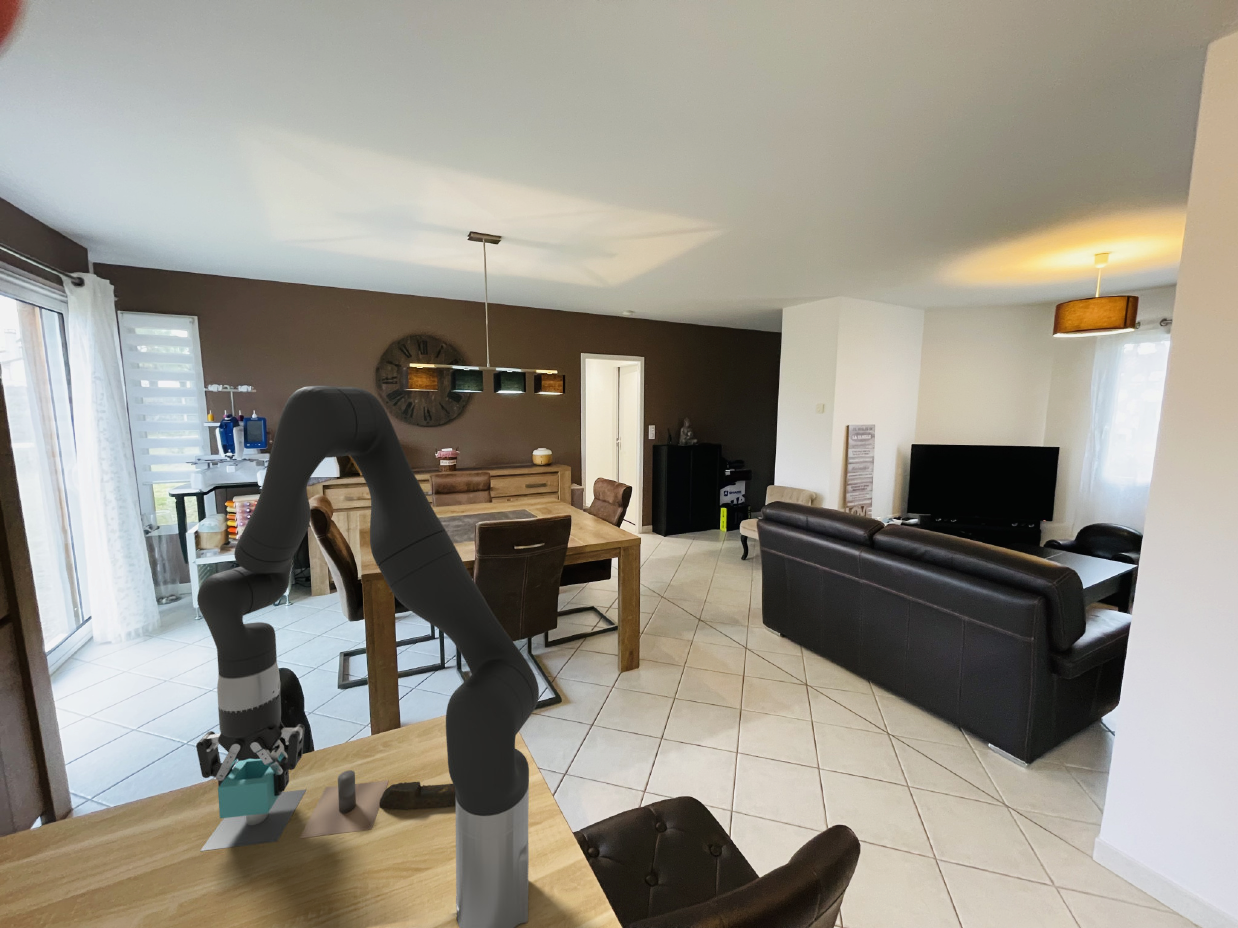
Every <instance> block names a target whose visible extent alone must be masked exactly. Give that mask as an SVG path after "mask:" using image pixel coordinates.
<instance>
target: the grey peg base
mask: <svg viewBox="0 0 1238 928" xmlns="http://www.w3.org/2000/svg"><path fill="white" fill-rule="evenodd" d="M306 791H307V789H297V790H289V791H282V793H281V795H280V796H278V798H277V800H276V801H275V803H274V804H273V806H272V808H271V809H270V811H269V812H268V813H265V814H256V815H247V816H238V817H229V818H222V820H221V822H220V823H219V824H218V826H217V827H216V828H215V830H214V831H213V832H212V834H211V835H210V836H209V838H208V839H207V841H206V842H205V843H204V845H203V846H202V848H201V849H200V850H199V851H200V852H204V851H206V852H207V851H212V850H220V849H229V848H237V847H244V846H252V845H259V844H265V843H266V844H268V843H275V842H276V843H277V842H278V840H279V839H280V837H281V835H282V834H283V832H284V830H285V828H286V826H287V825H288V823H289V821H290V820H291V818H292V816H293V814H294V813H295V811H296V809H297V807H298V805H299V804H300V801H302V798H303V796H305V793H306Z"/></svg>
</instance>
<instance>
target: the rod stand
mask: <svg viewBox="0 0 1238 928" xmlns="http://www.w3.org/2000/svg"><path fill="white" fill-rule="evenodd" d="M388 785H389V779H387V780H381V781H380V780H378V781H371V782H361V783H356V772H355V771H354V770H346V771H345V770H344V771H343V772H341V773H340V774H339V775H338V776H337V785H334V786H326V787H325V788H324V790H323V792H322V794H321V796H320V798H319V800H318V802H317V804H316V806H315V807H314V810H313V811H312V813H311V815H310V817H309V819H308V821H307V823H306V825H305V827H304V828H303V831H302V833H301V835H300V836H299V839H306V838H307V839H308V838H315V837H323V836H330V835H338V834H346V833H347V834H348V833H352V832H360V831H361V832H363V831H369V830H372V829H373V826H374V823H375V821H376V817H377V815H378V812H379V809H380V805H379V803H380V799H381V797H382V795H383V793H384V791H385V790H386V789H387V788H388Z"/></svg>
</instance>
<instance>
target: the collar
mask: <svg viewBox="0 0 1238 928" xmlns="http://www.w3.org/2000/svg"><path fill="white" fill-rule="evenodd" d="M285 753H286V754H287V755H288V752H285ZM274 774H275V773H274V772H273V770H272V769H271V768H270V766H269V765H267V766H266V765H265V764H264V763H263V761H262V760H261V759H247V760H243V761H237V762H236V764H235V765H234V767H233V768H232V771H231V772H230V773H229V774H228V776H227V777H226V778H225V779H224V781H223V782H222V783H221V784H220V786H218V787H217V794H218V795H217V796H218V810H219V811H218V813H219V819H224V818H229V817H238V816H247V815H256V814H265V813H268V812H269V811H270V809H271V808H272V806H273V804H274V803H275V801H276V800H277V798H278V796H275V795H274Z"/></svg>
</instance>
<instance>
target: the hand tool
mask: <svg viewBox="0 0 1238 928" xmlns="http://www.w3.org/2000/svg"><path fill="white" fill-rule="evenodd" d="M379 805H380V807H379V809H380V808H381V809H385V810H390V811H391V810H403V811H409V810H410V811H411V810H413V811H414V810H425V809H426V810H427V809H444V808H456V791H455V787H454V784H453V783H446V784H445V783H444V784H432V785H431V784H426V785H424V784H422V785H421V782H420V781H411V782H406V781H404V782H398V783H396V784H395V783H394V784H390V786H387V787H386V790H385V791H384V793H383V795H382V797H381V799H380V803H379Z"/></svg>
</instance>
